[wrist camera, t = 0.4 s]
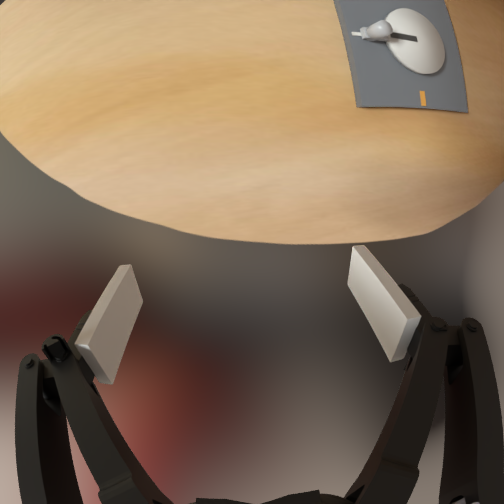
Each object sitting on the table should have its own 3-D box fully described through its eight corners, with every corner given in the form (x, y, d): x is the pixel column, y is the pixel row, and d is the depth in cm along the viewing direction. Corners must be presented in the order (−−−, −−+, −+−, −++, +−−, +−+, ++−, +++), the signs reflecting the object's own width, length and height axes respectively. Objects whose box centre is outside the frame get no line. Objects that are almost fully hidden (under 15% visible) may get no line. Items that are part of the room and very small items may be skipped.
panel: (326, -22, 24) (330, -28, 22) (437, 2, 23) (444, -1, 21) (356, 107, 35) (363, 107, 33) (461, 111, 34) (468, 112, 32)
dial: (430, 18, 24) (447, 12, 20) (444, 78, 30) (463, 77, 25) (352, 2, 25) (365, -9, 20) (368, 69, 30) (385, 64, 26)
